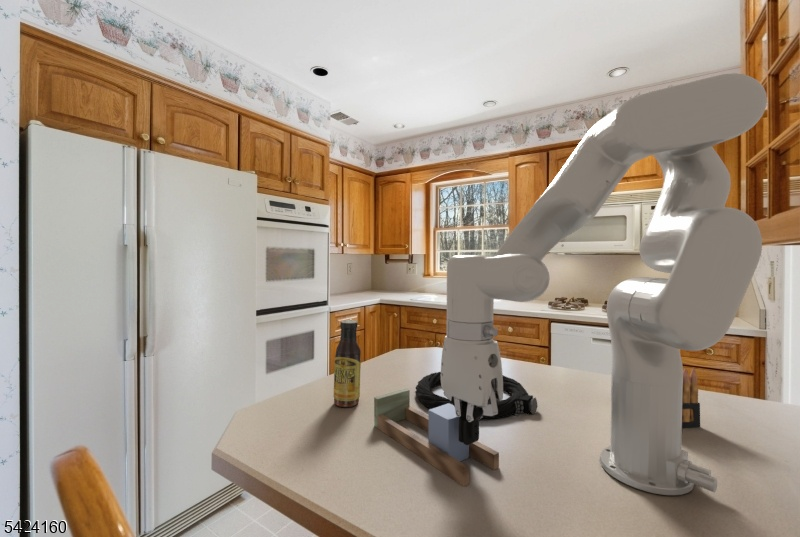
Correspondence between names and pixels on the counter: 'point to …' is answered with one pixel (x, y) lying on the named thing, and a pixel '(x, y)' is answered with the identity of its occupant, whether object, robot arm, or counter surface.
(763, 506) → the counter surface
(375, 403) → the track
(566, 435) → the counter surface
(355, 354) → the sauce bottle
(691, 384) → the ammunition clip
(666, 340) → the robot arm
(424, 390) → the cable lock
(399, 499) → the counter surface
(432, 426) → the block
